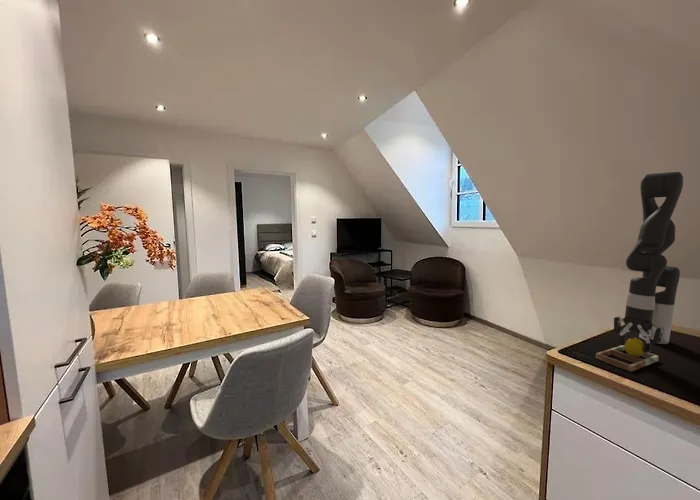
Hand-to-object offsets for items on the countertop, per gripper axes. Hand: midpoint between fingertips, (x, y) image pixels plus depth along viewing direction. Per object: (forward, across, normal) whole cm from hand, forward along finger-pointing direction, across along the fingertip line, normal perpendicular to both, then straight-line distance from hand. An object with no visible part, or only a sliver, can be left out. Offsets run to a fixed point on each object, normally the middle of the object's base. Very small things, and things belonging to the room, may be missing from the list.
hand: (634, 348), depth 114 cm
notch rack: (+4, 0, +5) cm, 6 cm away
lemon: (+4, 0, 0) cm, 4 cm away
